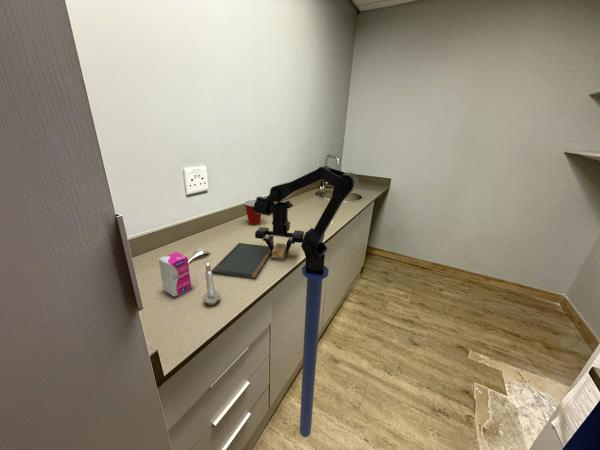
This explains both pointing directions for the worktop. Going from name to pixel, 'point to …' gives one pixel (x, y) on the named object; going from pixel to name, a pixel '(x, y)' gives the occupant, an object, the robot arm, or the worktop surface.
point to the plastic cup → (252, 213)
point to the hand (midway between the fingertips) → (279, 254)
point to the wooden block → (279, 252)
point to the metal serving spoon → (198, 253)
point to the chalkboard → (244, 261)
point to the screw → (210, 288)
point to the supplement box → (175, 274)
